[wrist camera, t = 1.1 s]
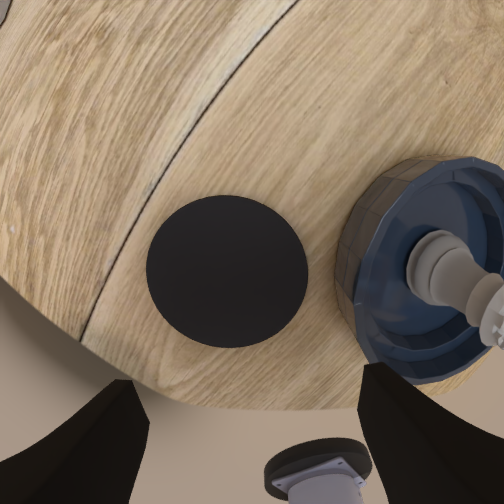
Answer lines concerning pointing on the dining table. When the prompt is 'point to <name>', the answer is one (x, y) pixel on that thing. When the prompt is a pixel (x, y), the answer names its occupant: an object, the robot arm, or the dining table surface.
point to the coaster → (227, 271)
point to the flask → (3, 9)
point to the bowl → (397, 256)
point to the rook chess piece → (458, 283)
